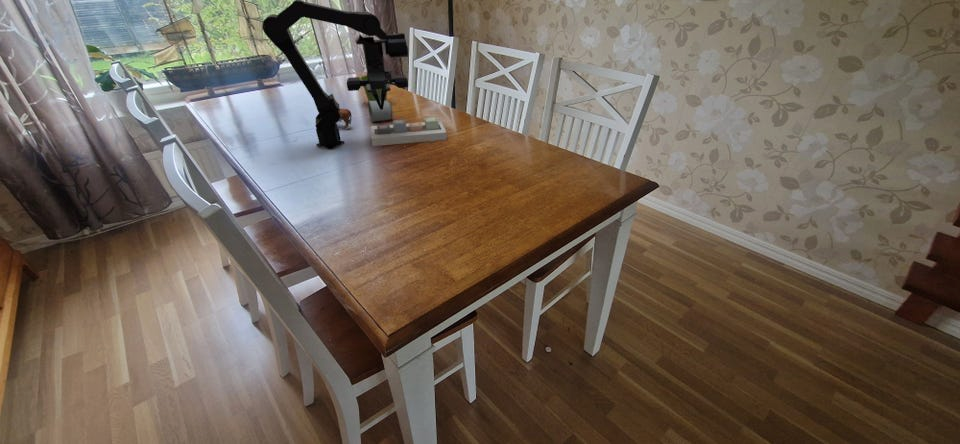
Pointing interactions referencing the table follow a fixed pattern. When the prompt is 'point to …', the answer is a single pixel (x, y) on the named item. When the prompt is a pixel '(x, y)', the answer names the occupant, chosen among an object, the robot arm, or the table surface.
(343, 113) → the bull figurine
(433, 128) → the key sage
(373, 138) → the keypad
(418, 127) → the key terracotta
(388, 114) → the ceramic mug
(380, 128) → the key charcoal
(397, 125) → the key slate
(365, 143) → the table surface
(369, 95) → the plant pot
